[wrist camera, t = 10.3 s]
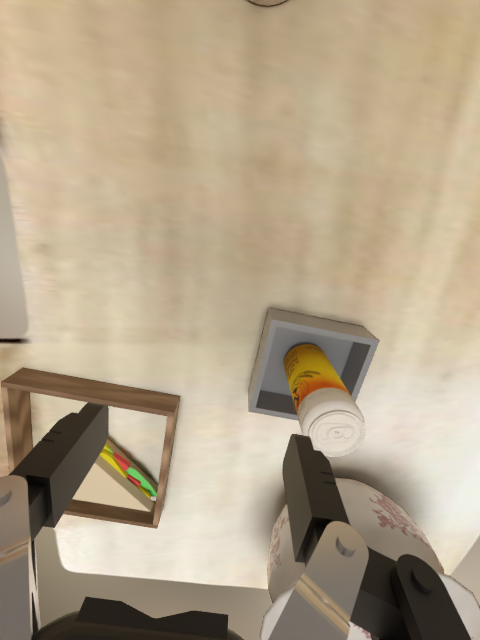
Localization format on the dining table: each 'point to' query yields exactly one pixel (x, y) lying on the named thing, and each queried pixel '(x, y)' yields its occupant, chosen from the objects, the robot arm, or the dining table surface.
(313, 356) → the beer can
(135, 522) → the serving board rim
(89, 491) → the sandwich
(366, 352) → the box
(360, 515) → the chamber pot
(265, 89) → the dining table surface
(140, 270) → the dining table surface
